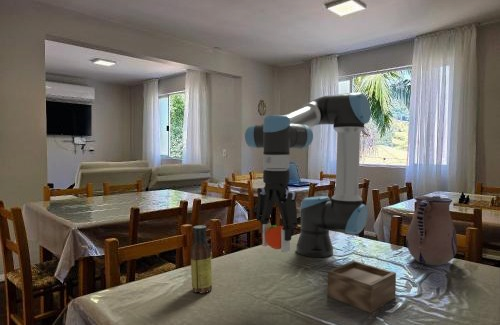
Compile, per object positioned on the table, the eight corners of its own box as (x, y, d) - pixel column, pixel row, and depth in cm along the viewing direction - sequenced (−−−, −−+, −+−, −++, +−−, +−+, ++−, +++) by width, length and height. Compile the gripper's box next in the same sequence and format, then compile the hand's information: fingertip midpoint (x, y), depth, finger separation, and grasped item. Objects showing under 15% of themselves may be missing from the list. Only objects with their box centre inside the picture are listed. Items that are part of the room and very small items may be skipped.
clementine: (264, 253, 97) (264, 228, 97) (259, 245, 104) (259, 222, 104) (292, 251, 99) (292, 227, 98) (285, 244, 105) (285, 221, 105)
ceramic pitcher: (459, 260, 136) (461, 196, 134) (452, 276, 119) (454, 204, 117) (410, 252, 146) (412, 192, 145) (398, 266, 129) (399, 199, 128)
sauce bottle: (215, 287, 109) (215, 225, 108) (206, 295, 103) (206, 229, 102) (196, 284, 111) (196, 223, 110) (187, 292, 105) (186, 228, 104)
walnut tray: (327, 295, 104) (327, 271, 103) (353, 283, 113) (353, 260, 112) (370, 312, 93) (371, 285, 93) (395, 297, 102) (395, 272, 102)
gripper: (243, 168, 105) (243, 243, 106) (293, 172, 90) (293, 259, 91) (262, 167, 110) (261, 238, 111) (312, 170, 95) (311, 253, 96)
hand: (275, 248), depth 101 cm, fingers closed on clementine, 7 cm apart
